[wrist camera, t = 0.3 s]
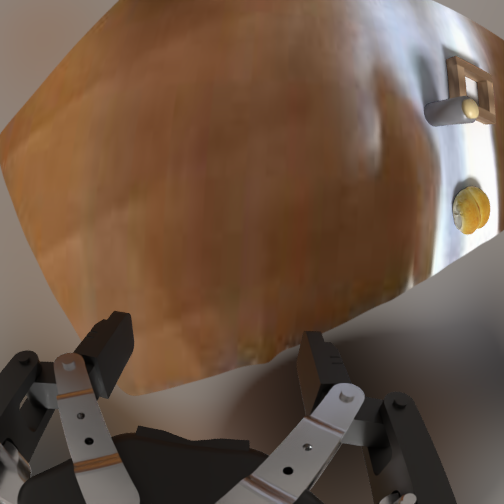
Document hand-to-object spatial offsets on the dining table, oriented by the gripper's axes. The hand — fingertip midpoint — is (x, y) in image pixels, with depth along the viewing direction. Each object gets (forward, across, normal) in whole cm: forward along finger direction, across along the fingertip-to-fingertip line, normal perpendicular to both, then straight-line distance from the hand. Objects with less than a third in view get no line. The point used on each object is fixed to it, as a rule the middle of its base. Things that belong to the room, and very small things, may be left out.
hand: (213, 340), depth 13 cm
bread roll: (+31, -40, -6) cm, 51 cm away
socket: (+31, -38, -28) cm, 57 cm away
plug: (+31, -30, -20) cm, 47 cm away
